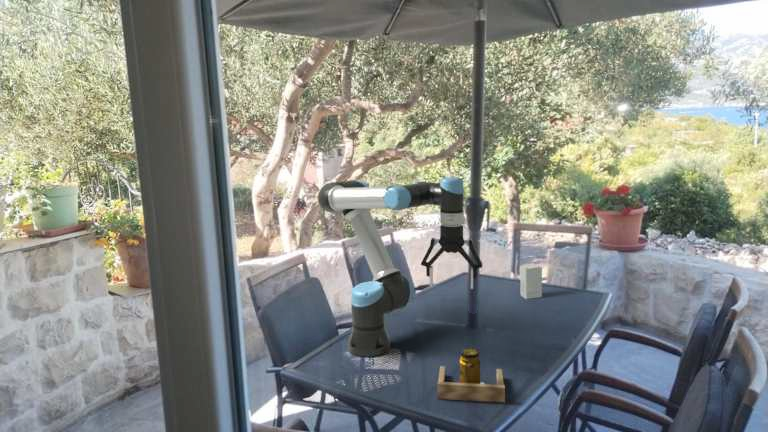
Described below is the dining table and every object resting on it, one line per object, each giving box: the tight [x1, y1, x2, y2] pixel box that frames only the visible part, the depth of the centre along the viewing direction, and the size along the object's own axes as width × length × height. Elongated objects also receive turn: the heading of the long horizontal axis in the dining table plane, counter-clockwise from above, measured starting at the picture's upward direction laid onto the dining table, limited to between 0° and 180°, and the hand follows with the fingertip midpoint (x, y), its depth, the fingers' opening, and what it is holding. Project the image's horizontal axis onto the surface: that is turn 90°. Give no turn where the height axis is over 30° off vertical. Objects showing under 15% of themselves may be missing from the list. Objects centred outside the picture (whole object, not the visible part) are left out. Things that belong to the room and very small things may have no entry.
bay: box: [436, 365, 506, 403], centre depth 149 cm, size 19×14×4 cm
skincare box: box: [519, 263, 543, 300], centre depth 229 cm, size 8×6×15 cm
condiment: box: [459, 348, 485, 384], centre depth 147 cm, size 7×8×12 cm
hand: (451, 286), depth 167 cm, fingers open, 13 cm apart
